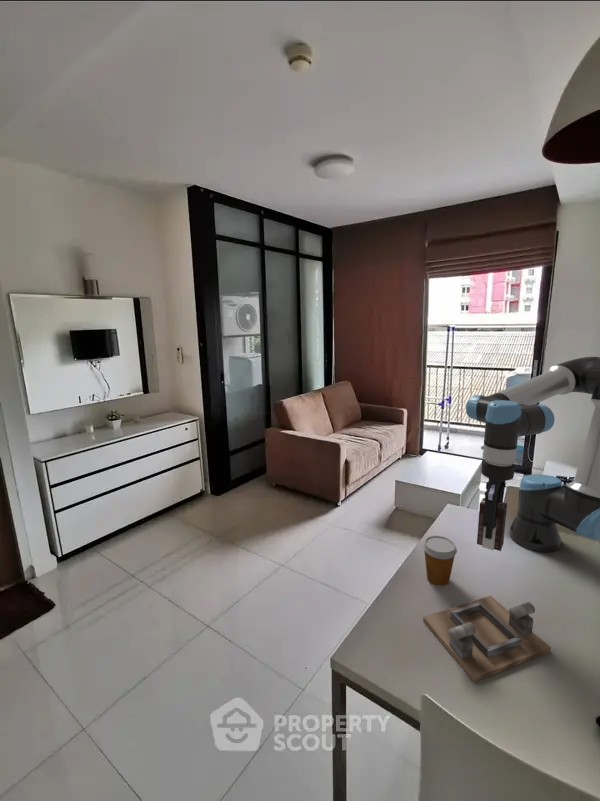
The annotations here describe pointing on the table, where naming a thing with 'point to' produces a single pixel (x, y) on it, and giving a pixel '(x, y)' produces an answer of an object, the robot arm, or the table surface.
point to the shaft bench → (487, 636)
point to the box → (499, 524)
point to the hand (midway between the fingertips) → (490, 543)
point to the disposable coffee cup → (439, 559)
